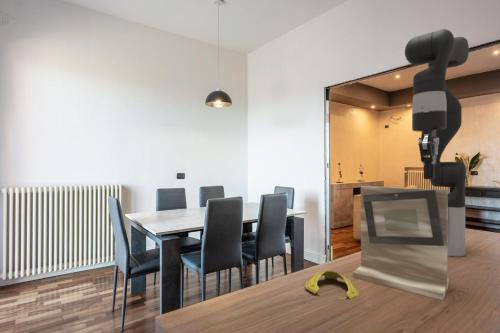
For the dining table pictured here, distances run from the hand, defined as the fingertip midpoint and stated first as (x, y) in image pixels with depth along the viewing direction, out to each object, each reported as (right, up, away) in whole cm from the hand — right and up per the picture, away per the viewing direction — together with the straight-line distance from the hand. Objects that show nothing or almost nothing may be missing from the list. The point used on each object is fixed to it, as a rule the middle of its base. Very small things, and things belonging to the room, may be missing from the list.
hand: (428, 178), depth 74 cm
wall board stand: (-4, -29, +7) cm, 30 cm away
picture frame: (-4, -18, +4) cm, 19 cm away
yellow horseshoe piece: (-24, -30, +3) cm, 39 cm away
